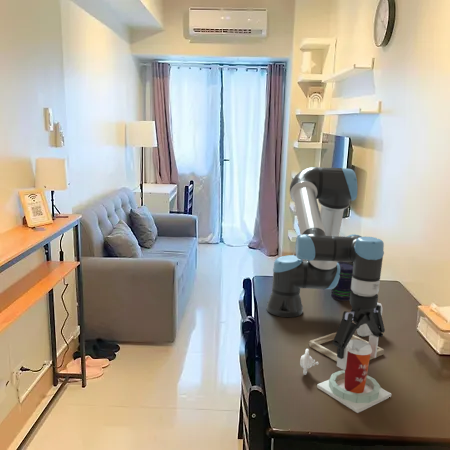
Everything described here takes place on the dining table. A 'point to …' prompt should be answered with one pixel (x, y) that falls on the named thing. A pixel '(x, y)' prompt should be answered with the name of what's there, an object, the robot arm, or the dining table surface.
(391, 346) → the dining table surface
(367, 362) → the paper cup
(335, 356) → the tray frame
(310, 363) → the ring around a ball
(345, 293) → the storage jar
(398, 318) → the dining table surface
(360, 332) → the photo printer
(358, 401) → the cup holder
